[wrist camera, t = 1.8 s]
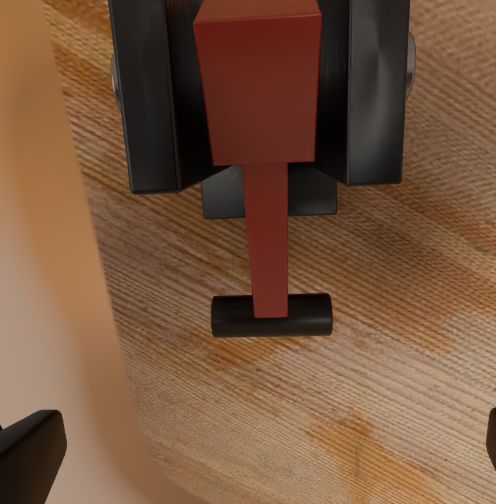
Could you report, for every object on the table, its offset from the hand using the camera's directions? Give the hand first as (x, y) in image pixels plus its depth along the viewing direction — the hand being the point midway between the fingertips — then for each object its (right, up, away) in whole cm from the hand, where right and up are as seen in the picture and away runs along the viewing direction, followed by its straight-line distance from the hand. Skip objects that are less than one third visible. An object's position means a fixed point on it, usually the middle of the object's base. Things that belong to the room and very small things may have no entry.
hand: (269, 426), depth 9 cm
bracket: (0, +10, +10) cm, 14 cm away
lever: (0, +5, +3) cm, 7 cm away
